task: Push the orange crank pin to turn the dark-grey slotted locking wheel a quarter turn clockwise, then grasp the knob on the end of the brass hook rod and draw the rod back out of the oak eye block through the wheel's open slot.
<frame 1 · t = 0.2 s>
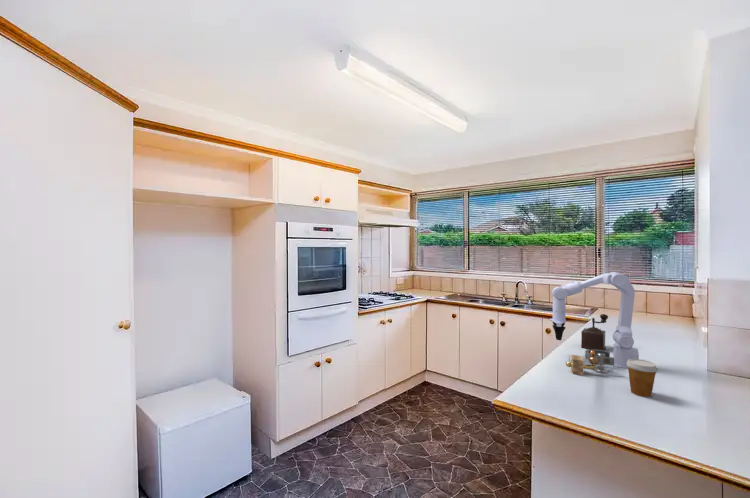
hand: (558, 338, 174), 10 cm above the table, fingers open, 7 cm apart
eye block: (576, 372, 155), on the table
coffee grinder: (594, 347, 193), on the table
hook rod: (582, 362, 154), point 5 cm above the table, slide at 0.0 cm
disposable coffee cup: (640, 394, 133), on the table
axle post: (600, 370, 158), on the table
locking wheel: (598, 354, 158), point 7 cm above the table, hinge at 0.0°
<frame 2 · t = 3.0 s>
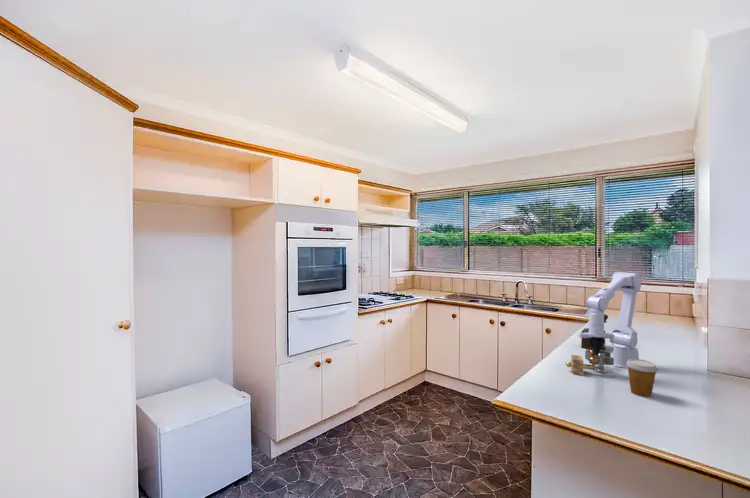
hand: (595, 354, 154), 8 cm above the table, fingers closed, pressing on locking wheel
locking wheel: (598, 354, 158), point 7 cm above the table, hinge at -3.4°, touching gripper
everything else where it was.
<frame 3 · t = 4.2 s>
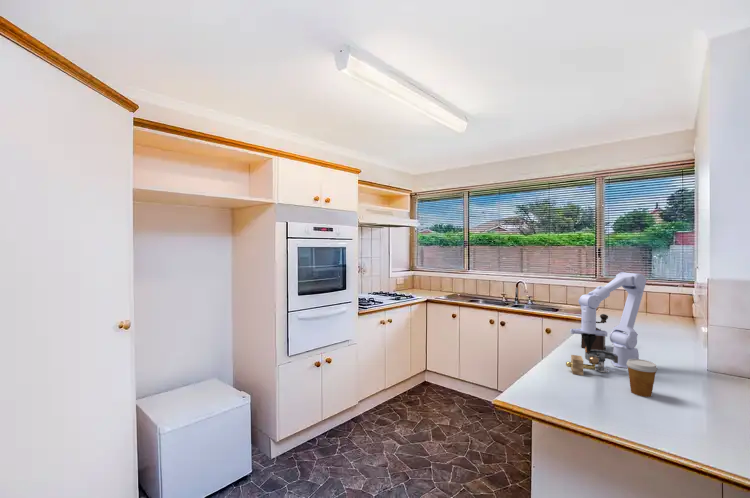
hand: (588, 350, 159), 8 cm above the table, fingers closed, pressing on locking wheel
locking wheel: (599, 354, 158), point 7 cm above the table, hinge at -60.2°, touching gripper
everything else where it was.
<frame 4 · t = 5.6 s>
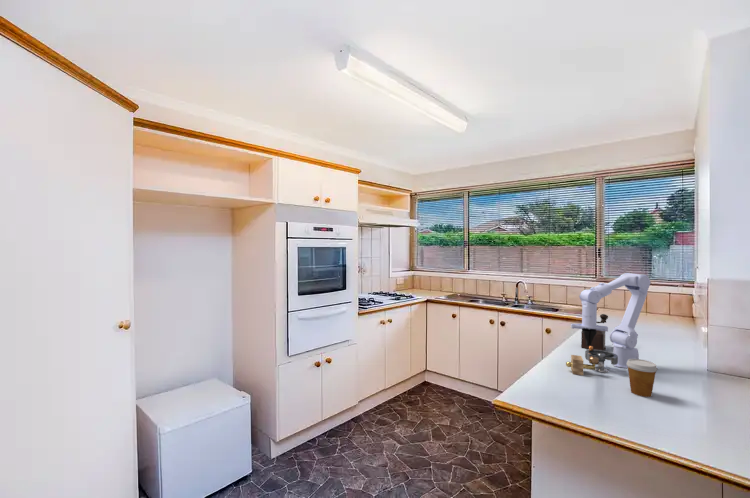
hand: (588, 345, 161), 10 cm above the table, fingers closed
locking wheel: (601, 354, 158), point 7 cm above the table, hinge at -96.5°
everything else where it was.
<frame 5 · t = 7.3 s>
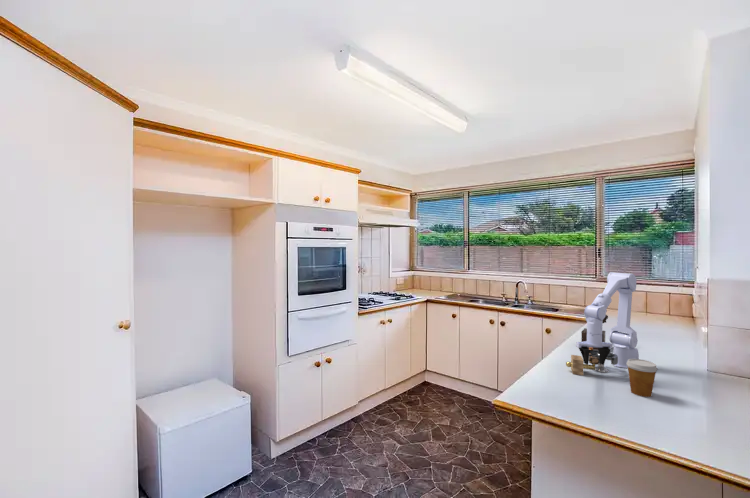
hand: (593, 363, 152), 5 cm above the table, fingers open, 6 cm apart
nothing on the table moved.
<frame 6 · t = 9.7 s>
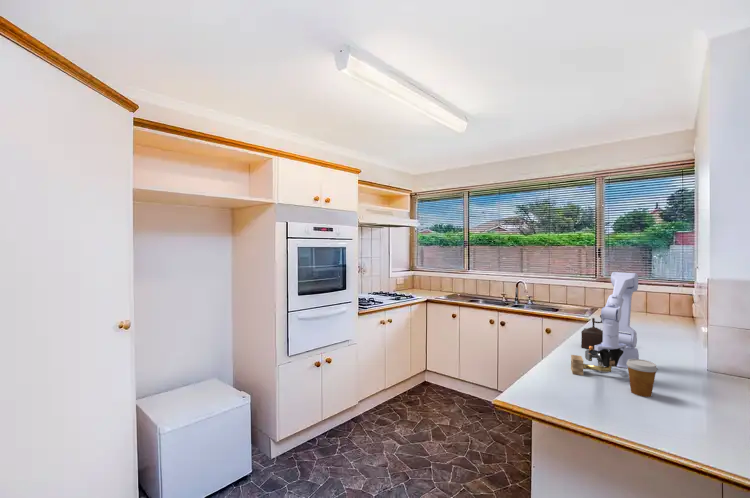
hand: (610, 366, 150), 5 cm above the table, fingers closed on hook rod, 3 cm apart
hook rod: (597, 364, 152), point 5 cm above the table, slide at 6.0 cm, touching gripper
locking wheel: (601, 354, 158), point 7 cm above the table, hinge at -96.5°, touching gripper
everything else where it was.
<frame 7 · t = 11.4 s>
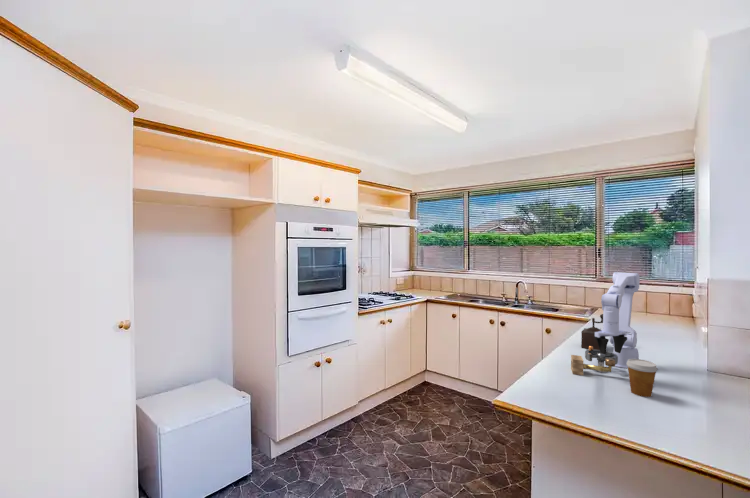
hand: (610, 352, 150), 10 cm above the table, fingers open, 7 cm apart
hook rod: (597, 364, 152), point 5 cm above the table, slide at 6.0 cm
locking wheel: (601, 354, 158), point 7 cm above the table, hinge at -95.5°
everything else where it was.
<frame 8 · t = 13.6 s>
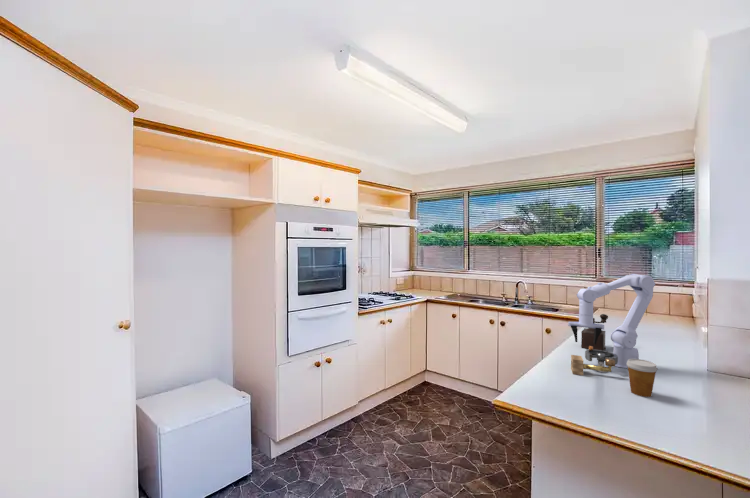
hand: (585, 342, 165), 10 cm above the table, fingers open, 7 cm apart
nothing on the table moved.
at the end: locking wheel at -96° (first picture: +0°); hook rod slide at 6.0 cm; the gripper is holding nothing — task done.
